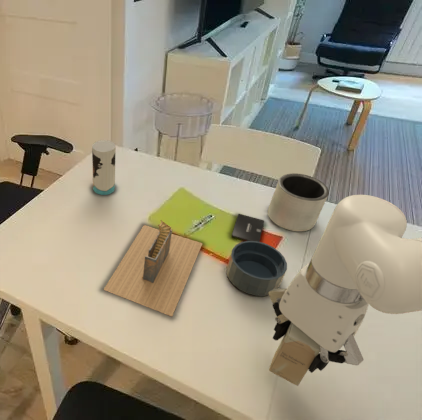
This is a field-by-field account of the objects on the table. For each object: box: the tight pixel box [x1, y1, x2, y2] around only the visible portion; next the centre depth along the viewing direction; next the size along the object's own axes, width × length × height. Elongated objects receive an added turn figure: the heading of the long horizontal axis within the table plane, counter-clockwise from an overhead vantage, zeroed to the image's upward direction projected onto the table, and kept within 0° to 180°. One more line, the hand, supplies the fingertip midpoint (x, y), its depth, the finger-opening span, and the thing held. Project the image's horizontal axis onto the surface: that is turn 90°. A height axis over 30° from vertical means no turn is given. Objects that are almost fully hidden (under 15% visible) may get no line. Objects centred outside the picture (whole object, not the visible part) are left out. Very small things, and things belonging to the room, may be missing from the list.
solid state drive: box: [231, 213, 265, 242], centre depth 101 cm, size 7×10×1 cm
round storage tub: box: [225, 240, 288, 297], centre depth 86 cm, size 12×12×6 cm
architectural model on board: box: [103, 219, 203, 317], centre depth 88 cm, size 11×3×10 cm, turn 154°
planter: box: [267, 172, 330, 232], centre depth 101 cm, size 12×13×11 cm
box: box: [268, 322, 320, 386], centre depth 63 cm, size 5×4×11 cm
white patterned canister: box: [91, 139, 117, 196], centre depth 111 cm, size 7×7×15 cm
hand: (297, 350), depth 62 cm, fingers closed on box, 6 cm apart
